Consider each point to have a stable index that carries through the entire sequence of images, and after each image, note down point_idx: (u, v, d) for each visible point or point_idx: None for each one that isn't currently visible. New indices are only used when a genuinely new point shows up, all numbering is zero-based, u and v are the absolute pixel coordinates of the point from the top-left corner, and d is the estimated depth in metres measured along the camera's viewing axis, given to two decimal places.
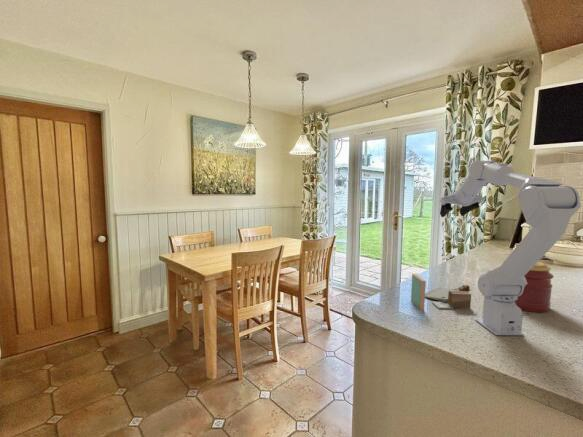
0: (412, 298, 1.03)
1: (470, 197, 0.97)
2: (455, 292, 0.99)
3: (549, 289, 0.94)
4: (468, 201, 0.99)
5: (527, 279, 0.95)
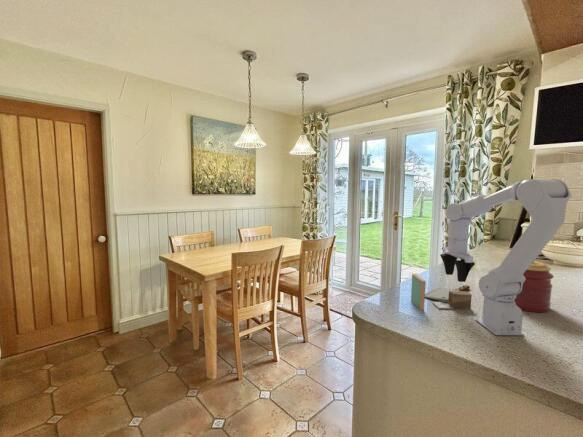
0: (412, 298, 1.03)
1: None
2: (455, 292, 0.98)
3: (549, 289, 0.94)
4: None
5: (527, 279, 0.95)
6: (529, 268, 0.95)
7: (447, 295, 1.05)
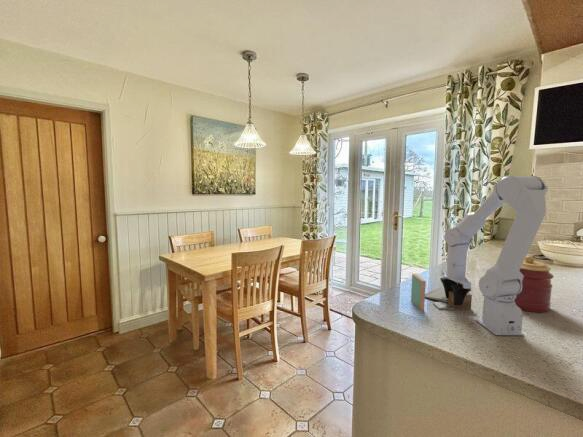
0: (412, 298, 1.03)
1: None
2: None
3: (549, 289, 0.94)
4: None
5: (527, 279, 0.95)
6: (529, 268, 0.95)
7: None
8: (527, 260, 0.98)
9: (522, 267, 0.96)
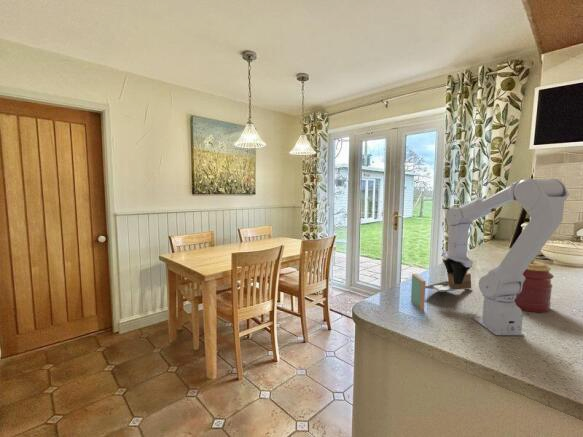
0: (412, 298, 1.03)
1: None
2: None
3: (549, 289, 0.94)
4: None
5: (527, 279, 0.95)
6: (529, 268, 0.95)
7: None
8: None
9: None
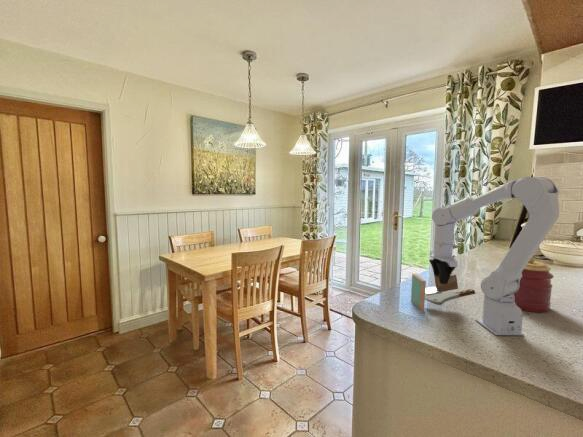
0: (412, 298, 1.03)
1: None
2: None
3: (549, 289, 0.94)
4: None
5: (527, 279, 0.95)
6: (529, 268, 0.95)
7: (441, 298, 1.05)
8: None
9: None
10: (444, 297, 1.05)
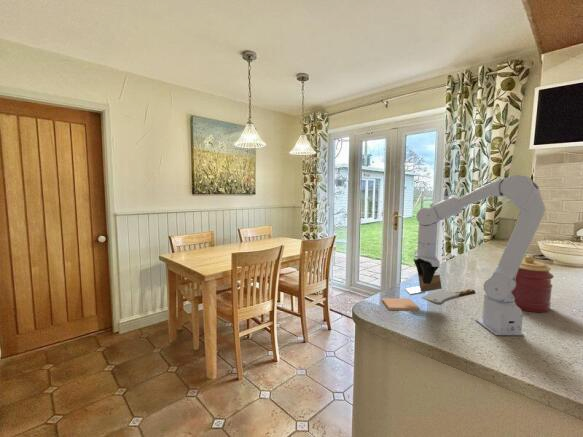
0: None
1: None
2: None
3: (549, 289, 0.94)
4: None
5: (527, 279, 0.95)
6: (529, 268, 0.95)
7: (441, 298, 1.05)
8: (527, 260, 0.98)
9: (522, 267, 0.96)
10: (444, 297, 1.05)
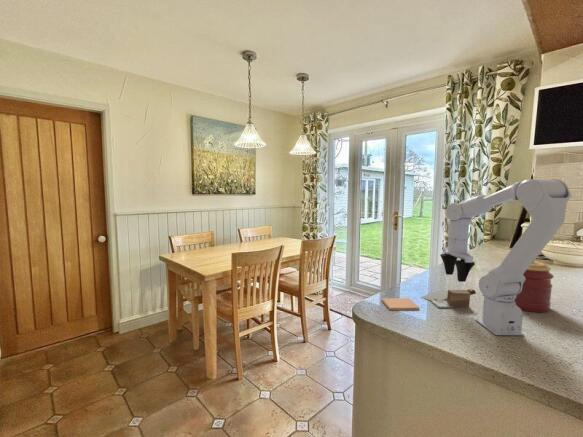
0: None
1: None
2: (454, 291, 0.99)
3: (549, 289, 0.94)
4: None
5: (527, 279, 0.95)
6: (529, 268, 0.95)
7: (441, 297, 1.05)
8: None
9: None
10: (444, 297, 1.06)
